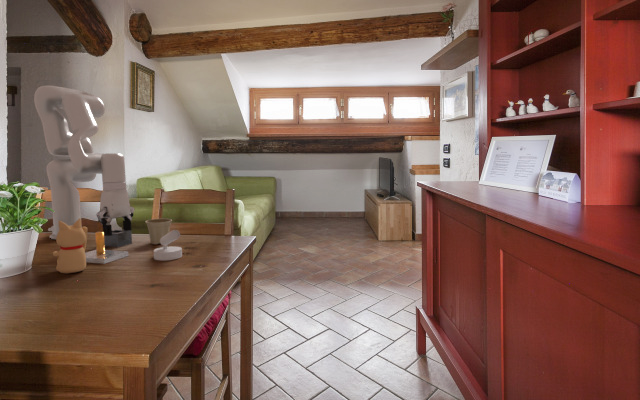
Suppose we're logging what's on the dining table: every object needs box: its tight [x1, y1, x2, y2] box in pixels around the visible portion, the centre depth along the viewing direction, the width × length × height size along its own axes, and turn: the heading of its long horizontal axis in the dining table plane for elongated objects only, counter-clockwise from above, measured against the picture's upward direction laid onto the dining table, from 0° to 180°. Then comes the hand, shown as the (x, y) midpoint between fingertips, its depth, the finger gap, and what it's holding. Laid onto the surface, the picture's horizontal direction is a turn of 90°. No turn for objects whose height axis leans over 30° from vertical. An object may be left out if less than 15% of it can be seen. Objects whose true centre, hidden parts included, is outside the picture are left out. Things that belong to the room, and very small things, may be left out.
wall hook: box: [153, 229, 183, 261], centre depth 123 cm, size 9×10×10 cm
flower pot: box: [144, 218, 173, 245], centre depth 145 cm, size 9×9×9 cm
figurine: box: [52, 218, 88, 274], centre depth 108 cm, size 9×10×15 cm
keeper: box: [85, 231, 129, 265], centre depth 121 cm, size 12×10×8 cm
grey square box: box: [104, 229, 133, 248], centre depth 141 cm, size 7×7×5 cm
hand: (118, 233), depth 141 cm, fingers open, 9 cm apart
